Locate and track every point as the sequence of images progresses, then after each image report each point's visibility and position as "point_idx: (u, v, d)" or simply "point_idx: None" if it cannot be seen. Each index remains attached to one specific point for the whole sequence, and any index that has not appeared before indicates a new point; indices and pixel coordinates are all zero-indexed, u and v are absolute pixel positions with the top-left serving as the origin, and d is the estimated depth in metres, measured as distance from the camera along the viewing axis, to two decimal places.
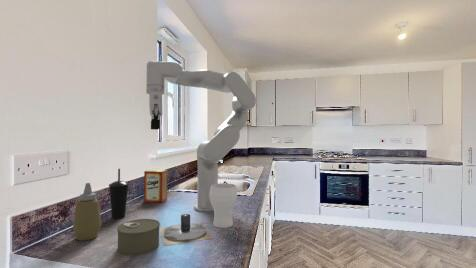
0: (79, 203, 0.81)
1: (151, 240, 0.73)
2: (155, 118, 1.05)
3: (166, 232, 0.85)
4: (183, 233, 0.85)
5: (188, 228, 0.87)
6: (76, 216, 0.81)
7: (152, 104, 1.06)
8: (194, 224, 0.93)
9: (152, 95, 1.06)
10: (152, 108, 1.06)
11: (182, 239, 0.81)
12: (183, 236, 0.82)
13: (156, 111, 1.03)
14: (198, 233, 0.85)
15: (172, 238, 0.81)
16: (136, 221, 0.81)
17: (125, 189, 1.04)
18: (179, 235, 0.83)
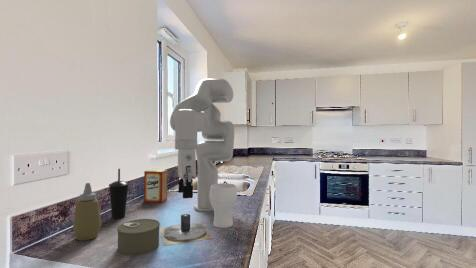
0: (79, 203, 0.81)
1: (151, 240, 0.73)
2: (188, 185, 0.81)
3: (166, 232, 0.85)
4: (183, 233, 0.85)
5: (188, 228, 0.87)
6: (76, 216, 0.81)
7: (184, 166, 0.82)
8: (194, 224, 0.93)
9: (183, 154, 0.83)
10: (183, 171, 0.82)
11: (182, 239, 0.81)
12: (183, 236, 0.82)
13: (190, 177, 0.80)
14: (198, 233, 0.85)
15: (172, 238, 0.81)
16: (136, 221, 0.81)
17: (125, 189, 1.04)
18: (179, 235, 0.83)
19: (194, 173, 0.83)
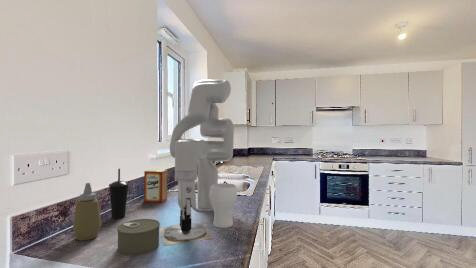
0: (79, 203, 0.81)
1: (151, 240, 0.73)
2: (186, 219, 0.85)
3: (166, 232, 0.85)
4: (183, 232, 0.85)
5: None
6: (76, 216, 0.81)
7: (184, 199, 0.83)
8: (194, 224, 0.93)
9: (183, 187, 0.83)
10: (183, 208, 0.83)
11: (182, 239, 0.81)
12: (183, 235, 0.82)
13: (188, 215, 0.82)
14: (198, 233, 0.85)
15: (172, 238, 0.81)
16: (136, 221, 0.81)
17: (125, 189, 1.04)
18: (179, 235, 0.83)
19: (194, 205, 0.84)
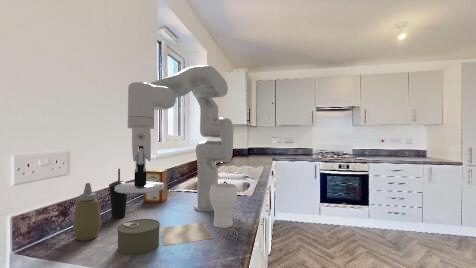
0: (79, 203, 0.81)
1: (151, 240, 0.73)
2: (139, 172, 0.74)
3: (117, 186, 0.74)
4: (136, 187, 0.74)
5: None
6: (76, 216, 0.81)
7: (135, 147, 0.72)
8: (153, 182, 0.82)
9: (135, 133, 0.72)
10: (135, 158, 0.72)
11: (132, 191, 0.70)
12: (134, 189, 0.71)
13: (140, 165, 0.72)
14: (153, 187, 0.74)
15: (121, 191, 0.70)
16: (136, 221, 0.81)
17: None
18: (130, 188, 0.72)
19: (148, 154, 0.73)
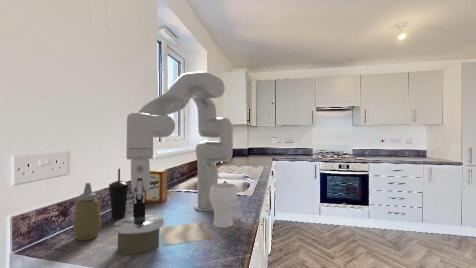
0: (79, 203, 0.81)
1: (150, 240, 0.73)
2: (138, 203, 0.72)
3: (116, 224, 0.74)
4: (135, 225, 0.74)
5: (142, 220, 0.76)
6: (76, 216, 0.81)
7: (134, 179, 0.72)
8: (152, 216, 0.82)
9: (134, 165, 0.72)
10: (134, 188, 0.72)
11: (131, 232, 0.70)
12: (133, 228, 0.71)
13: (139, 196, 0.70)
14: (152, 226, 0.74)
15: (120, 231, 0.70)
16: None
17: (125, 189, 1.04)
18: (129, 228, 0.72)
19: (147, 186, 0.73)
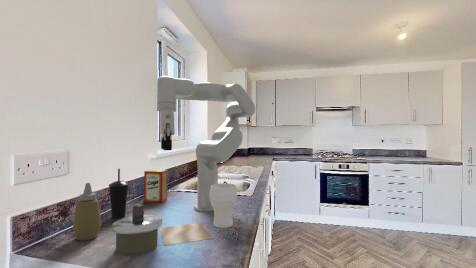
0: (79, 203, 0.81)
1: (149, 241, 0.73)
2: (167, 139, 0.97)
3: (114, 224, 0.74)
4: (133, 225, 0.74)
5: (140, 220, 0.75)
6: (76, 216, 0.81)
7: (164, 123, 0.98)
8: (151, 216, 0.82)
9: (164, 114, 0.98)
10: (164, 128, 0.98)
11: (129, 232, 0.69)
12: (131, 228, 0.71)
13: (168, 132, 0.95)
14: (150, 226, 0.73)
15: (118, 231, 0.70)
16: None
17: (125, 189, 1.04)
18: (127, 228, 0.72)
19: (173, 130, 0.99)
